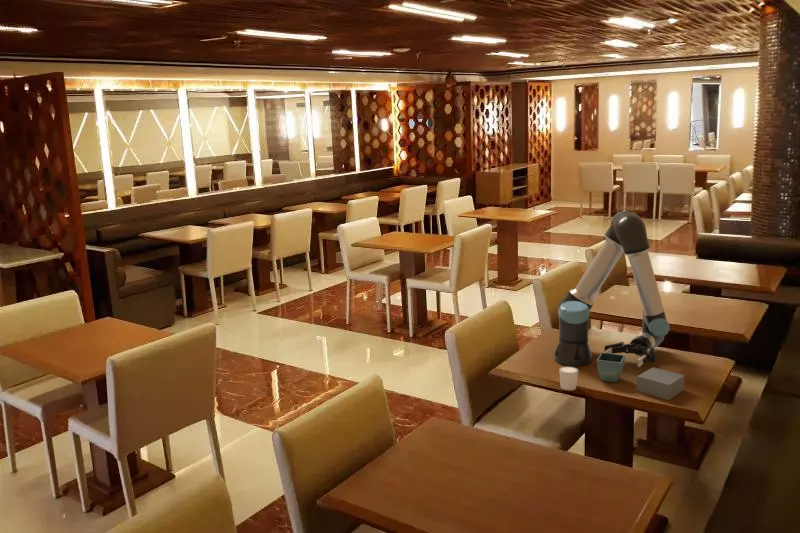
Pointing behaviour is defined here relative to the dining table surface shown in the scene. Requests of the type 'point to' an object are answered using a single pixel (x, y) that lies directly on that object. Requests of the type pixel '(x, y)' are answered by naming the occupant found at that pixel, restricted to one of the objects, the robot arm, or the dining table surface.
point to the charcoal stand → (660, 383)
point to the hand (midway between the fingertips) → (621, 359)
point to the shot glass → (568, 378)
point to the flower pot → (610, 366)
